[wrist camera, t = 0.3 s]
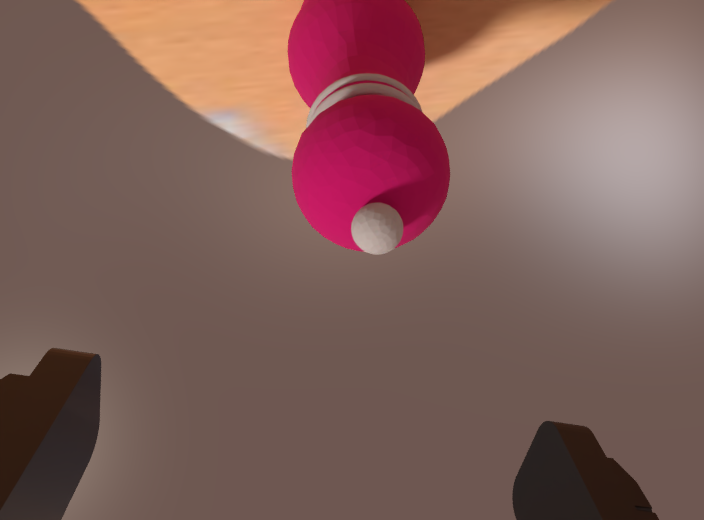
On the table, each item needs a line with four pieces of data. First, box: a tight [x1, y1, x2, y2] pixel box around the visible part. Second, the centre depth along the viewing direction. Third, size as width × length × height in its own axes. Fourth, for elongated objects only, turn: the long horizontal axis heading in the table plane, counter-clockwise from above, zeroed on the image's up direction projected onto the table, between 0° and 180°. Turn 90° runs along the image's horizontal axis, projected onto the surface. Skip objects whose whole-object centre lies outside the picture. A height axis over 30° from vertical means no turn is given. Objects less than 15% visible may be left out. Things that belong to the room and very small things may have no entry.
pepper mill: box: [288, 0, 450, 254], centre depth 27 cm, size 7×7×20 cm
